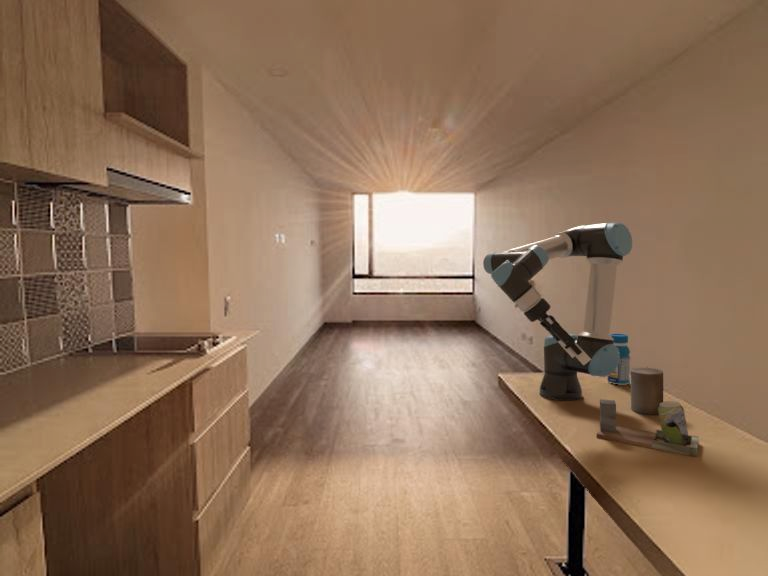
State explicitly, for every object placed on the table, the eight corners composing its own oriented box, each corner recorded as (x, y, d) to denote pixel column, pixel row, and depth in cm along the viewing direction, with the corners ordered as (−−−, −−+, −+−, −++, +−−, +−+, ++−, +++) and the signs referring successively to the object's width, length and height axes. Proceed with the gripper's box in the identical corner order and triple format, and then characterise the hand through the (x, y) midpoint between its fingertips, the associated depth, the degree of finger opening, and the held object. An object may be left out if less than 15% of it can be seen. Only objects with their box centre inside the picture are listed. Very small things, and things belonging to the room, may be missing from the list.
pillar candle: (670, 412, 153) (670, 367, 152) (651, 417, 148) (651, 371, 148) (642, 404, 161) (642, 362, 161) (623, 409, 157) (623, 365, 156)
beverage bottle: (629, 386, 183) (629, 337, 182) (606, 384, 187) (606, 335, 186) (630, 381, 190) (630, 333, 189) (608, 379, 195) (608, 332, 193)
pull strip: (602, 426, 141) (602, 396, 140) (698, 443, 126) (699, 409, 126) (594, 436, 133) (594, 404, 132) (696, 456, 118) (697, 420, 118)
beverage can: (693, 451, 122) (694, 407, 121) (663, 449, 123) (663, 406, 123) (683, 442, 128) (683, 399, 127) (654, 440, 130) (654, 399, 129)
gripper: (518, 310, 152) (562, 359, 150) (528, 315, 128) (581, 374, 125) (535, 295, 151) (580, 345, 149) (549, 297, 127) (603, 356, 124)
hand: (581, 358), depth 137 cm, fingers open, 13 cm apart
